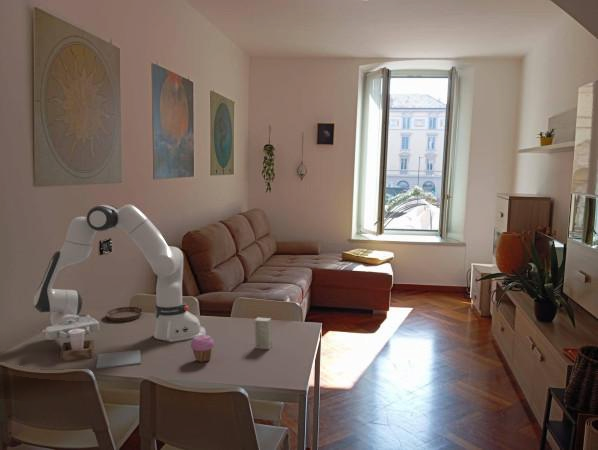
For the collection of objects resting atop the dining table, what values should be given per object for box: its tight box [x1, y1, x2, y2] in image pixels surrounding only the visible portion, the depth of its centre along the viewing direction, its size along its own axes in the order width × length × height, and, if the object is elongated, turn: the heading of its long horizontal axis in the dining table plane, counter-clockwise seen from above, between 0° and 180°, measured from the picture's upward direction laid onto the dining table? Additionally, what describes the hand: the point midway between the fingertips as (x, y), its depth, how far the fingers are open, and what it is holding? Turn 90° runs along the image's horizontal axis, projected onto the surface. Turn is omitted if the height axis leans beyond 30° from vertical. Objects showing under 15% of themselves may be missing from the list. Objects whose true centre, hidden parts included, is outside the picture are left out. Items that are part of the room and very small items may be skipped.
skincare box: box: [254, 316, 273, 350], centre depth 218 cm, size 6×4×12 cm
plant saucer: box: [105, 306, 144, 322], centre depth 261 cm, size 18×18×3 cm
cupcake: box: [190, 334, 215, 363], centre depth 204 cm, size 9×9×10 cm
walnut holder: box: [59, 339, 95, 362], centre depth 210 cm, size 11×11×4 cm
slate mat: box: [95, 349, 142, 369], centre depth 205 cm, size 16×14×1 cm
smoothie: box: [68, 320, 85, 350], centre depth 210 cm, size 6×6×14 cm
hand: (77, 334), depth 209 cm, fingers closed on smoothie, 6 cm apart
